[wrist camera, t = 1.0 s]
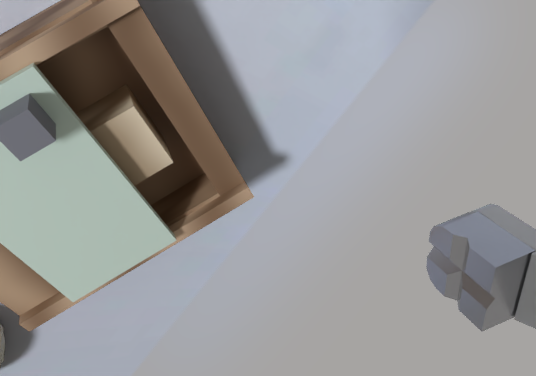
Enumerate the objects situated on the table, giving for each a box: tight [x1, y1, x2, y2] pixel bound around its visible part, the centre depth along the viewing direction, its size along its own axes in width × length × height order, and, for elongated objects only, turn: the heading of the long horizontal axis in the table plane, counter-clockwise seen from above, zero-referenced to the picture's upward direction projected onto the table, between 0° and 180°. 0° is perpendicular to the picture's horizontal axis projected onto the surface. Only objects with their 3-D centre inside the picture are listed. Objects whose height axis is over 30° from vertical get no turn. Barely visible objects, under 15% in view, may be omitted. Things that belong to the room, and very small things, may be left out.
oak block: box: [76, 85, 173, 185], centre depth 30 cm, size 4×4×4 cm
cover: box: [0, 62, 176, 302], centre depth 27 cm, size 8×14×3 cm, turn 24°
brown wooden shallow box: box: [0, 0, 254, 332], centre depth 29 cm, size 18×16×4 cm
